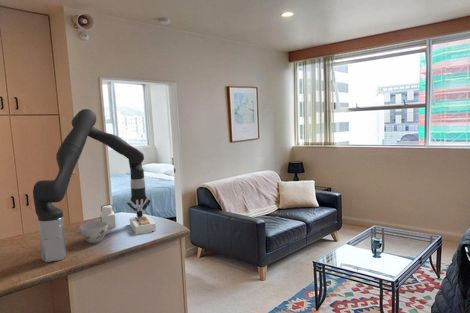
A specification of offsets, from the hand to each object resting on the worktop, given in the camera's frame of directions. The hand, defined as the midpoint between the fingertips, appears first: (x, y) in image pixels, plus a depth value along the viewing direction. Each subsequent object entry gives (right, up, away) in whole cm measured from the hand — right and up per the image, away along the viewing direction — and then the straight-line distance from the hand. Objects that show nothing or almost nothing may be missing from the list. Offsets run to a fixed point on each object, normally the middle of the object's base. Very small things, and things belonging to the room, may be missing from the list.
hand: (139, 217), depth 183 cm
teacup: (-14, -7, -22) cm, 27 cm away
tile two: (+3, -2, -5) cm, 6 cm away
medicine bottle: (-17, -5, -1) cm, 18 cm away
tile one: (+6, -2, -11) cm, 12 cm away
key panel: (+3, -5, -5) cm, 7 cm away
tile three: (0, -3, 0) cm, 3 cm away
